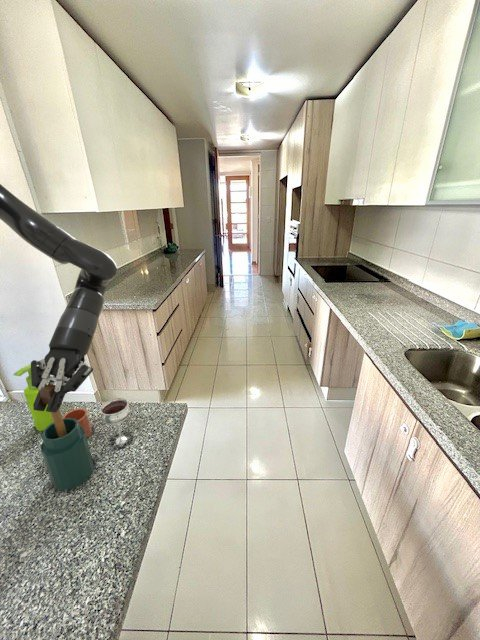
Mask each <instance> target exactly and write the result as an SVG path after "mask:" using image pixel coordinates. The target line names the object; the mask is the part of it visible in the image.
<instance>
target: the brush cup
mask: <svg viewBox="0 0 480 640" xmlns="http://www.w3.org/2000/svg"><path fill="white" fill-rule="evenodd" d="M89 417H90V416H89V413H88V411H87V409H85V408H76V409H75V408H74V409H72V410H70V411H67V412H66V413H65V414H64V415H63V416H62V419H65V418H75V419H76V420H77V421H78V422H79V426H80V427H82V428H83V429H84V430H85V434H86V438H87V439H88V438H89V437H90V435H92V432H93V431H92V425H91V422H90V418H89Z"/></svg>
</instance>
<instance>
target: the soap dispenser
mask: <svg viewBox="0 0 480 640" xmlns="http://www.w3.org/2000/svg"><path fill="white" fill-rule="evenodd" d="M26 373H27V374H28V376H26V378H25V382H26V384H27V387H25V388H24V389H23V393H24V397H25V400H26V403H27V406H28V409H29V412H30V415H31V417H32V420H33V424H34V426H35V429H36V430H37V431H38V432H43V430H44V429H45V428H47V427H48V426H49V425H50V424H52V423H54V421H53V418H52V415H51V412H47V411H46V408H47V406H48V404H47V406H46V408H45V410H44V411H37V410H34V409H33V408H34V407H33V404H34V402H35V399H36V397H37V394H38V392H39V390H38V389H37V388H36V387H33V386H32V382H31V363H29V364H28V365H25V366H23V367H21V368H19V369H18V370H16V371H15V372H13V374H12V376H16V377H21V376H23V375H24V374H26ZM48 383H49V382H48ZM47 385H48V384H47Z"/></svg>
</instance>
